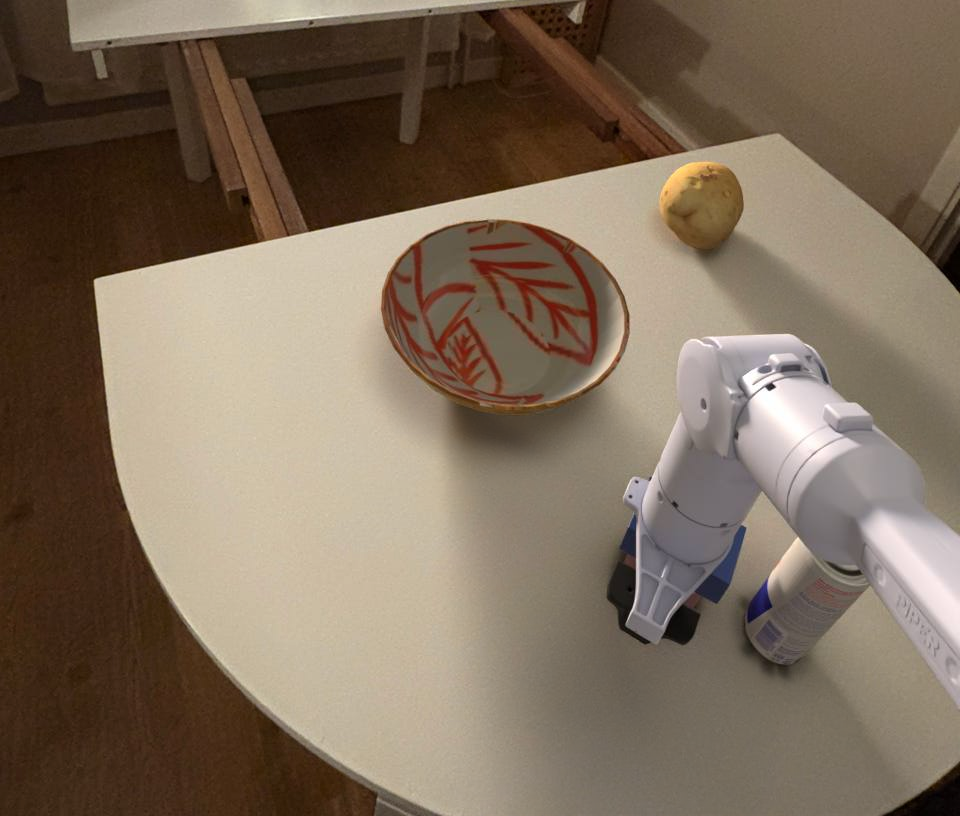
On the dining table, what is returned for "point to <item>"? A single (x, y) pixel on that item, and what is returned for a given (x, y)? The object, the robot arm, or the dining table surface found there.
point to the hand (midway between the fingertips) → (652, 582)
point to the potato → (702, 204)
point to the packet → (716, 580)
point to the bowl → (505, 316)
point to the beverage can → (800, 603)
